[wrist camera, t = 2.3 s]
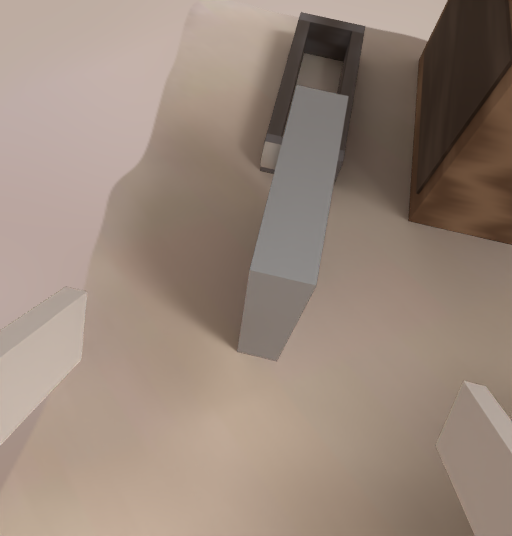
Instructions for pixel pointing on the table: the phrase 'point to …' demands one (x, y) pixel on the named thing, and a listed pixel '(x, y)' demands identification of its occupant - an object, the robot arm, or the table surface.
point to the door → (292, 221)
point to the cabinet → (437, 112)
